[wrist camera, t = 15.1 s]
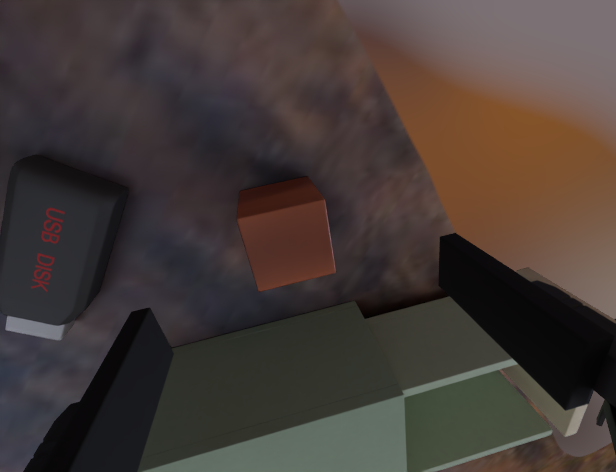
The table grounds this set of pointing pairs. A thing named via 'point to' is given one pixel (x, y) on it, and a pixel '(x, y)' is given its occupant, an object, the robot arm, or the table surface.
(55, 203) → the usb drive
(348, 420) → the cabinet
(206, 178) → the table surface
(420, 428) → the drawer
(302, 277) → the block
